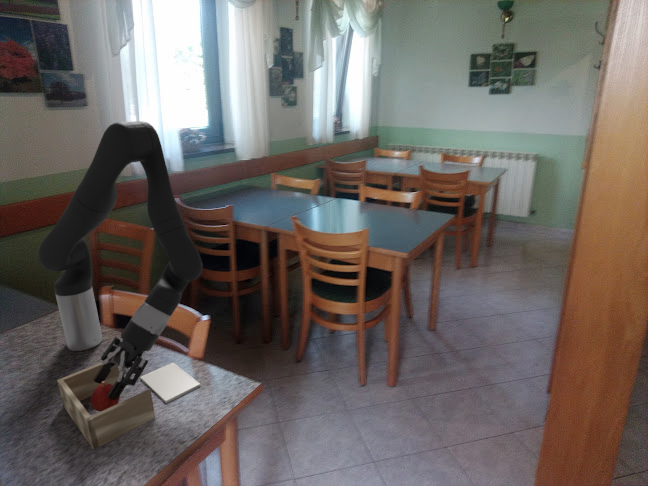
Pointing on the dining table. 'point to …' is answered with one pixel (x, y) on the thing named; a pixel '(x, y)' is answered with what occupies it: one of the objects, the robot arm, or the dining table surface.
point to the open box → (110, 420)
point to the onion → (102, 397)
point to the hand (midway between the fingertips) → (104, 390)
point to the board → (169, 382)
